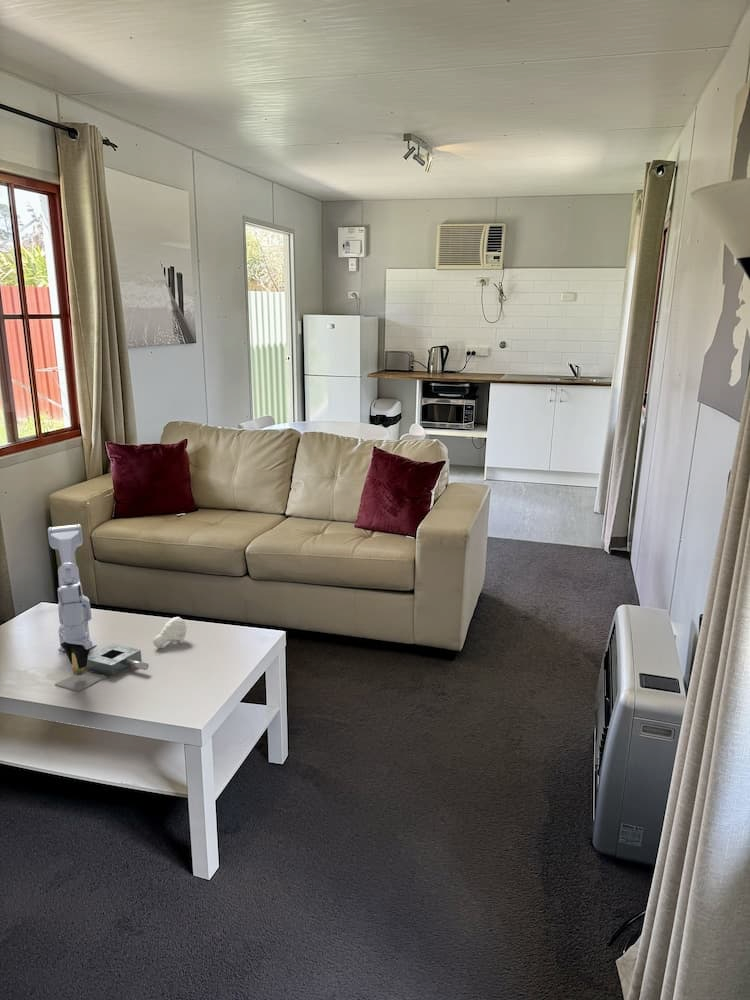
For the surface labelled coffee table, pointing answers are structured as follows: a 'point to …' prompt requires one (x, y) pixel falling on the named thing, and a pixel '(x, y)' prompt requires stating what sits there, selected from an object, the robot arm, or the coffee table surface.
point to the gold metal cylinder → (75, 666)
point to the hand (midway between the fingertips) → (78, 665)
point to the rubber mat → (80, 681)
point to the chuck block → (115, 660)
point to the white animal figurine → (171, 632)
